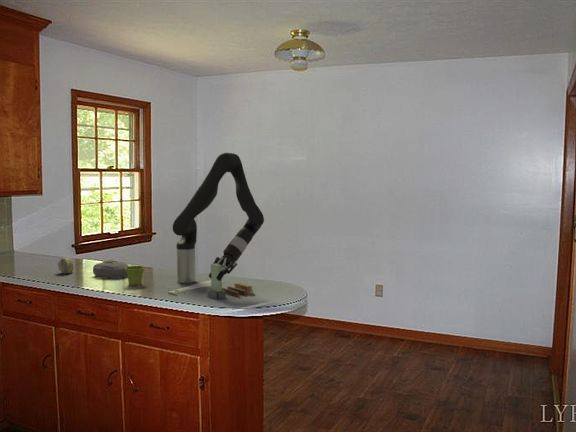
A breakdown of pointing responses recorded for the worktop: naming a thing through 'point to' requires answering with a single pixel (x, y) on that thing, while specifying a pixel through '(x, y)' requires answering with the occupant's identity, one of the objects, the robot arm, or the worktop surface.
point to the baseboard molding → (193, 287)
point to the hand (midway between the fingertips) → (214, 278)
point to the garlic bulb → (65, 265)
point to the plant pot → (135, 274)
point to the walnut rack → (235, 292)
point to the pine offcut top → (243, 286)
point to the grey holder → (216, 294)
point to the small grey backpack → (110, 269)
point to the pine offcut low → (246, 291)
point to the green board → (215, 283)
